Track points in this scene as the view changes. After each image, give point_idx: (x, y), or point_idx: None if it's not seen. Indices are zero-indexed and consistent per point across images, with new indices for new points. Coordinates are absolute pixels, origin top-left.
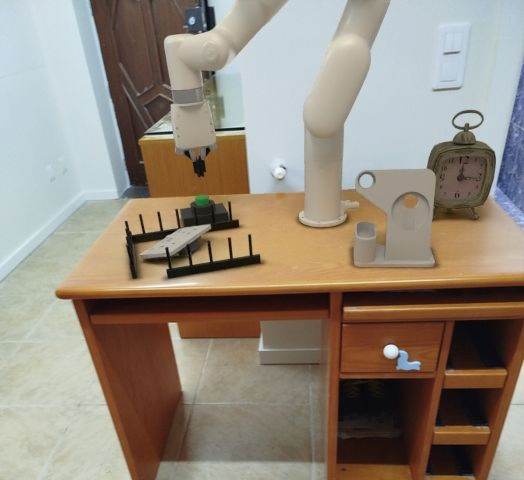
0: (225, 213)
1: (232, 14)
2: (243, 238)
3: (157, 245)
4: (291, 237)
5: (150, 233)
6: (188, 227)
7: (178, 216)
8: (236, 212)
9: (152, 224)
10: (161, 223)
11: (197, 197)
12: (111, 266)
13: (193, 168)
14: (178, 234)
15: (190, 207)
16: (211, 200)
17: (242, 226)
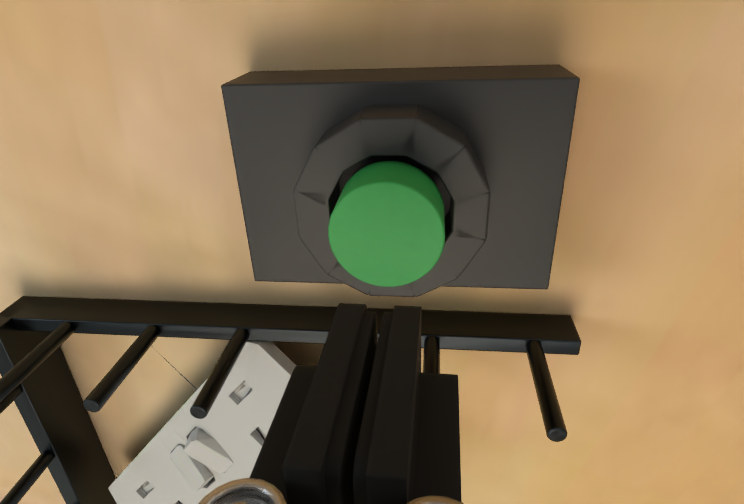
0: (528, 285)
1: None
2: (536, 437)
3: (162, 471)
4: (736, 500)
5: (100, 333)
6: (286, 380)
7: (221, 387)
8: (655, 84)
9: (68, 88)
10: (137, 362)
11: (349, 231)
12: (28, 449)
13: (285, 395)
14: (240, 442)
15: (303, 88)
16: (471, 185)
17: (588, 322)
